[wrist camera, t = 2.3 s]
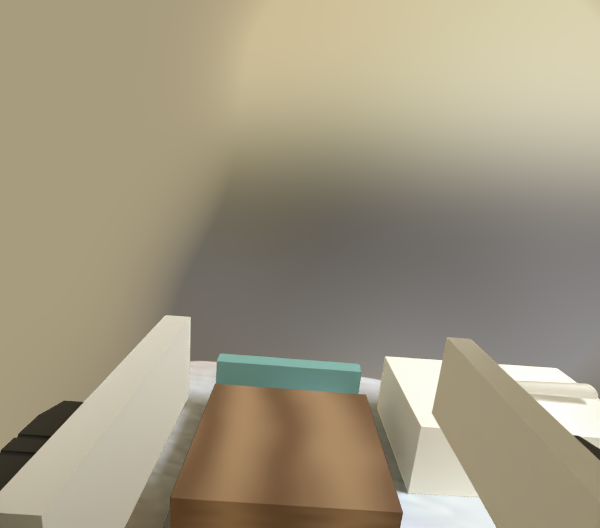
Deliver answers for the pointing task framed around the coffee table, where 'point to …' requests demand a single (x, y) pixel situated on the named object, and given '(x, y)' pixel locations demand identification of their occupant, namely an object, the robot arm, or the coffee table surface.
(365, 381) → the coffee table surface
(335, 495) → the brown wooden block
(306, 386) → the teal stop bar
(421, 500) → the coffee table surface
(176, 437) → the coffee table surface
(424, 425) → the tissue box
